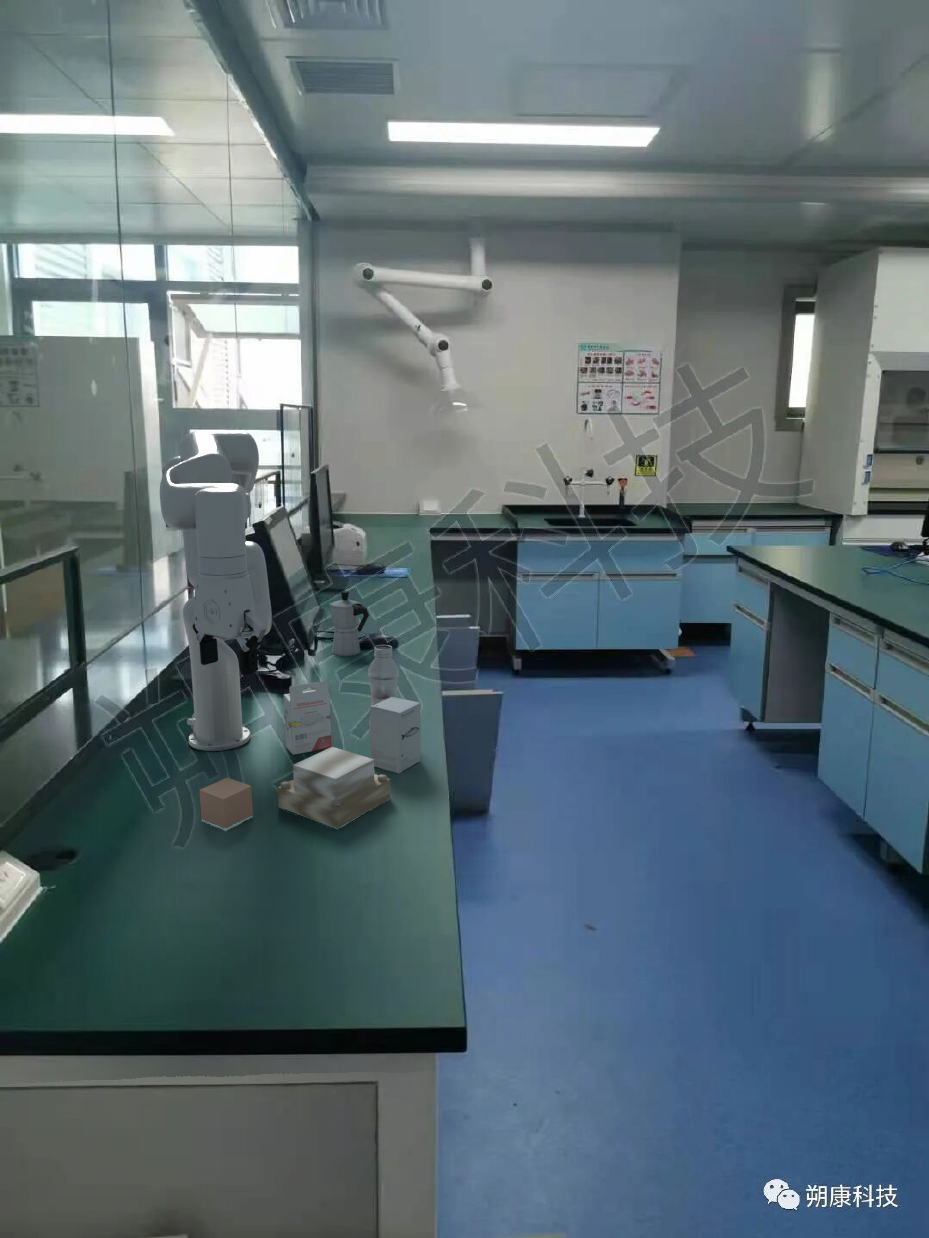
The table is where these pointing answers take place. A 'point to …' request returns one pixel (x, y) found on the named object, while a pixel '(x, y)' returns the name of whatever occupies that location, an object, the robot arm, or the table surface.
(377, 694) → the plastic bottle
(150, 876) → the table surface
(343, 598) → the coffee maker
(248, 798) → the tan cube
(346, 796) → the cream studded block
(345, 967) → the table surface
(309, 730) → the ink cartridge box
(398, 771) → the supplement box
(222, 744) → the robot arm
